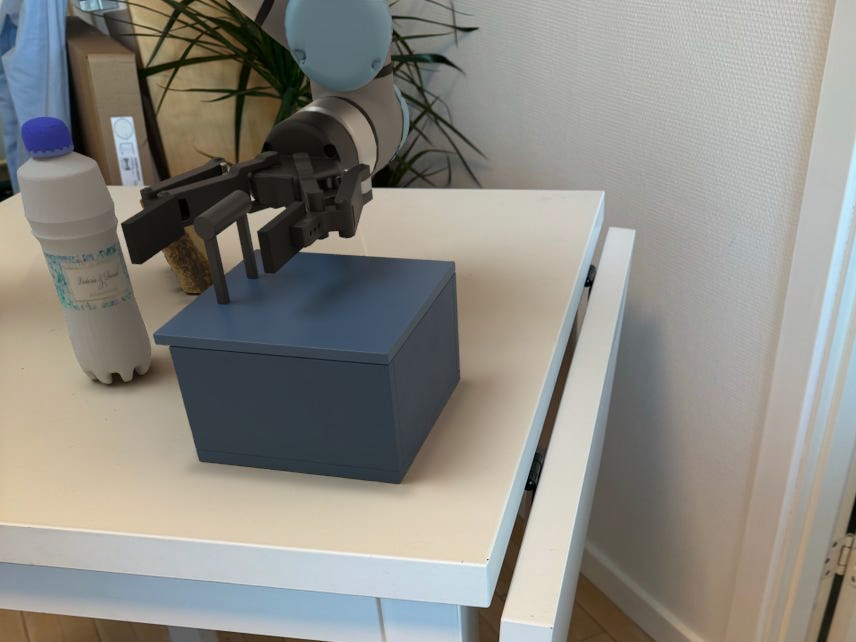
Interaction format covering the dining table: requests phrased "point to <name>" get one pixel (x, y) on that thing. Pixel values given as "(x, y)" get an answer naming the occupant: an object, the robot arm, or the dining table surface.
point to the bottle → (82, 252)
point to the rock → (189, 261)
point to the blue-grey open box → (323, 403)
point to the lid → (303, 299)
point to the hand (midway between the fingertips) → (197, 248)
